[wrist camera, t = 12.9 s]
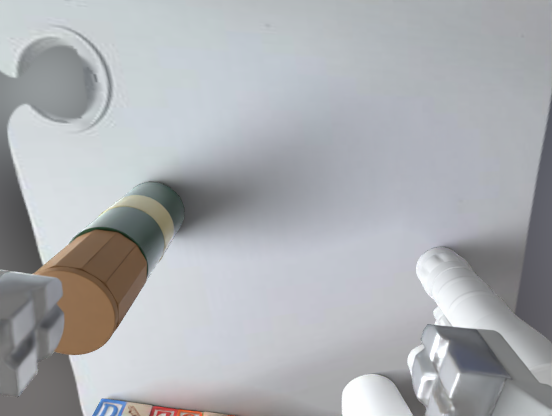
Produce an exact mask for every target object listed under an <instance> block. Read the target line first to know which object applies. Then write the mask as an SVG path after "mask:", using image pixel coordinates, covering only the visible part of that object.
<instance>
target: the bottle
mask: <svg viewBox="0 0 552 416" xmlns="http://www.w3.org/2000/svg"><path fill="white" fill-rule="evenodd" d="M183 220H184V206H183V203H182V201H181V199H180V197H179V196H178V195H177V193H176V192H175V191H174V190H172V189H171V188H170V187H168V186H166V185H164V184H161V183H157V182H146V183H142V184H139V185H137V186H136V187H134V188H133V189H132V190H130V191H129V192H128V193H127V194H126V195H124V196H123V197H122V198H121V199H119V200H118V201H116V202H115V203H114V204H112V205H111V206H110V207H109V208H108V209H106V210H105V211H104V212H103V213H101V214H100V215H99V216H98V217H97V218H96V219H95V220H94V221H93V222H91V223H90V224H89V225H88V226H86V227H85V228H84V229H83V230H82V231H80V232H79V233H78V234H77V235H76V236H75V237H73V238H72V240H71V241H70V242H69V244H70V243H71V242H72V241H73V240H75V239H76V238H77V237H79V236H81V235H84V234H86V233H88V232H91V231H93V230H104V231H112V232H118V233H120V234H122V235H123V236H125V237H126V238H128V239H129V240H131V241H132V242H134V243H135V244H136V245H137V246H138V248H139V249H140V251H141V253H142V254H143V256H144V258H145V260H146V261H147V280H148V278H149V276H150V275H151V273H152V272H153V270H154V268H155V267H156V265H157V264H158V262H159V261H160V260H161V258H162V257H163V255H164V253H165V252H166V250H167V249H168V247H169V245H170V244H171V242H172V239H173V238H174V236H175V235H176V233H177V231H178V230H179V228H180V227H181V225H182V223H183ZM69 244H68V245H69ZM147 280H146V281H147ZM142 288H143V287H142Z"/></svg>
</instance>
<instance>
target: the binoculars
mask: <svg viewBox="0 0 552 416" xmlns="http://www.w3.org/2000/svg"><path fill="white" fill-rule="evenodd" d="M416 272H417V275H418V277H419V279H420V281H421V282H422V285H423V288H424V289H425V291H426V292H427V293H428V295H429V296H431V297H432V298H433V300H434V301H435V302H436V303H437V304H438V307H437V308H436V309H435V310H434V312H433V314H434V317H435V318H436V323H435V325H441V326H451V327H461V328H471V329H472V328H474V329H486V330H495V331H497V332H498V333H500V334H501V335H502V336H503V337H504V339H505V340H506V341H507V343H508V344H509V345H510V346H511V348H512V349H513V350H514V351H515V353H516V354H517V355H518V356H519V358H520V359H521V360H522V361H523V363H524V364H525V365H526V366H527V368H528V369H529V370H530V371H531V373H532V374H533V375H534V376H535V378H536V379H537V380H538V381H539V383H542V384H548V385H550V386H551V387H552V343H551V342H550V341H549V340H548V339H547V338H546V337H545V336H543V335H542V334H541V333H539V332H538V331H536V330H535V329H534V328H532V327H531V326H529V325H528V324H527V323H525V322H524V321H523V320H521V319H520V318H519V317H517V316H516V315H515V314H514V313H513V312H512V311H511V310H510V309H509V308H508V306H507V304H506V303H505V302H504V300H503V299H501V298H500V297H499V296H497V295H496V294H495V293H494V292H493V291H492V289H491V288H490V286H489V285H488V284H487V283H486V282H484V281H483V280H481V279H480V278H479V277H478V275H477V274H476V273H475V272H474V271H473V270H472V267H471V266H470V265H469V263H468V262H467V261H466V260H465V259H464V258H462V257H461V256H459V255H458V254H457V253H456V252H454V251H453V250H451V249H449V248H446V247H436V248H432V249H430V250H428V251H427V252H425V253H424V254H423V255H422V256H421V257H420V259H419V260H418V263H417V266H416ZM424 348H425V347H424V345H423V344H421V345H419V346H417V347H416V348H414V349H413V350H412V351H411V353H410V354H409V356H408V367H409V369H410V371H411V376H412V366H413V363H414V359H415V355H416V354H418V353H419V352H420V351H421V350H423V349H424ZM426 409H427V408H426Z"/></svg>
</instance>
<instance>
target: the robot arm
mask: <svg viewBox="0 0 552 416" xmlns="http://www.w3.org/2000/svg"><path fill="white" fill-rule="evenodd" d="M62 296H63V290H62V282H61V281H60V280H59V279H58V278H55V277H48V276H41V275H34V274H27V273H20V272H10V271H6V270H0V395H2V396H13V397H19V395H20V394H21V393H22V392H23V391H24V389H25V388H26V387H27V386H28V384H29V383H30V382H31V380H32V379H33V378H34V377H35V375H36V374H37V373H38V362H40V361H42V360H44V359H46V358H48V357H50V356H51V355H52V353H53V352H54V351H55V349H56V348H57V347H58V344H59V342H60V339H61V337H62V334H63V330H64V323H65V322H64V312H63V311H62V310H61V308H60V307H59V306H58V305H57V302H58V301H59V300H60V299H61V298H62ZM421 341H422V343H423V345H424V347H425V348H424V349H423V350H421V351H420V352H419V353H418V354H416V355H415V359H414V363H413V366H412V384H413V389H414V392H415V395H416V397H417V400H419V401H420V402H421V403H422V404H423V405H424V406H425V407H426V408H427V409H426V412H425V415H424V416H552V387H551V386H550V385H548V384H542V383H539V381H538V380H537V379H536V378H535V376H534V375H533V374H532V373H531V371H530V370H529V369H528V368H527V366H526V365H525V364H524V363H523V361H522V360H521V359H520V358H519V356H518V355H517V354H516V353H515V351H514V350H513V349H512V348H511V346H510V345H509V344H508V343H507V341H506V340H505V339H504V337H503V336H502V335H501V334H500V333H498V332H497V331H495V330H486V329H474V328H472V329H471V328H461V327H451V326H441V325H432V324H427V326H426V327H425V329H424V330H423V333H422V336H421Z"/></svg>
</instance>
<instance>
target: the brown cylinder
mask: <svg viewBox="0 0 552 416" xmlns="http://www.w3.org/2000/svg"><path fill="white" fill-rule="evenodd" d="M34 275H41V276H48V277H55V278H58V279H59V280H60V281H61V282H62V290H63V296H62V298H61V299H60V300H59V301H58V302H57V305H58V306H59V307H60V308H61V310H62V311H63V312H64V322H65V323H64V330H63V334H62V337H61V339H60V342H59V344H58V347H57V348H56V349H55V352H58V353H62V354H68V355H81V354H86V353H90V352H92V351H95V350H97V349H99V348H100V347H102V346H103V345H104V344H105V343H106V342H107V341H108V340H109V339H110V337H111V336H112V334H113V333H114V331H115V330H116V329H117V327H118V326H119V324H120V323H121V321H122V320H123V318H124V316H125V315H126V313H127V312H128V310H129V308H130V307H131V305H132V304H133V302H134V300H135V299H136V297H137V295H138V294H139V292H140V291H141V289H142V287H143V286H144V284H145V283H146V280H147V261H146V260H145V258H144V256H143V254H142V253H141V251H140V249H139V248H138V246H137V245H136V244H135V243H134V242H132V241H131V240H129V239H128V238H126V237H125V236H123V235H122V234H120V233H118V232H112V231H104V230H93V231H91V232H88V233H86V234H84V235H81V236H79V237H77V238H76V239H75V240H73V241H72V242H71V243H70V244H69V245H67V246H66V247H65V248H64V249H63V250H61V251H60V252H59V253H58V254H57V255H55V256H54V257H53V258H52V259H51V260H49V261H48V262H47V263H46V264H45V265H43V266H42V267H41V268H40V269H39V270H37V271H36V272H35V273H34Z"/></svg>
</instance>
